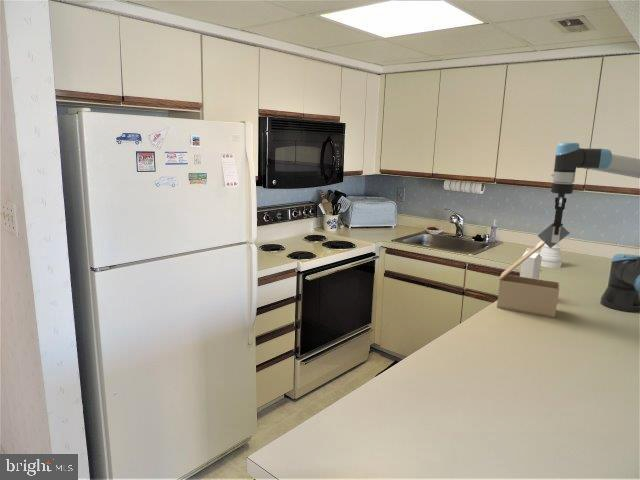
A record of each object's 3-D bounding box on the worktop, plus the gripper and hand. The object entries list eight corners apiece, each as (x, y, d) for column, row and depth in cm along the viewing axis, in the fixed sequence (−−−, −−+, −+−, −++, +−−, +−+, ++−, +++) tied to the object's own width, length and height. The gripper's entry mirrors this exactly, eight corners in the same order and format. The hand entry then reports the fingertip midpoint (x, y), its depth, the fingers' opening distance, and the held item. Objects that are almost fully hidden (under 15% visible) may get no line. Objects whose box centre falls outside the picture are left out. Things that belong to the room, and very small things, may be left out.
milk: (529, 298, 203) (536, 251, 198) (517, 295, 207) (522, 248, 203) (536, 296, 206) (543, 249, 202) (524, 292, 211) (530, 247, 206)
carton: (555, 309, 190) (559, 282, 187) (554, 318, 180) (559, 289, 178) (499, 300, 200) (503, 274, 197) (496, 307, 190) (499, 280, 188)
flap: (569, 230, 183) (556, 218, 184) (569, 235, 172) (555, 222, 174) (508, 278, 197) (496, 267, 198) (505, 285, 187) (492, 273, 188)
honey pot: (565, 266, 263) (569, 236, 259) (553, 269, 255) (557, 238, 252) (544, 261, 273) (548, 232, 269) (532, 263, 266) (536, 234, 262)
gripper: (552, 181, 184) (545, 237, 189) (551, 183, 171) (543, 244, 176) (573, 182, 180) (565, 239, 185) (574, 184, 167) (565, 246, 172)
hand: (555, 241), depth 180 cm, fingers closed on flap, 2 cm apart
